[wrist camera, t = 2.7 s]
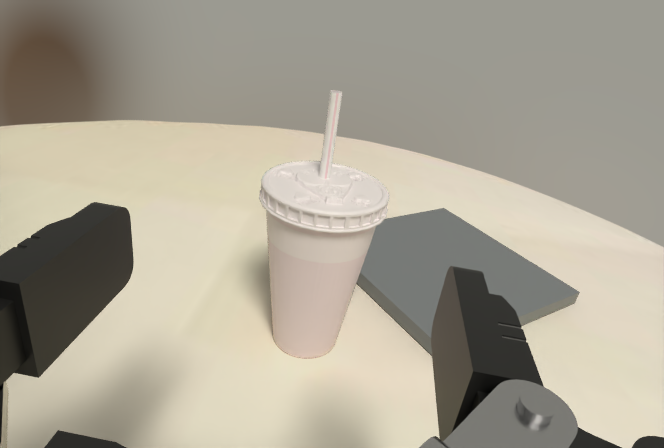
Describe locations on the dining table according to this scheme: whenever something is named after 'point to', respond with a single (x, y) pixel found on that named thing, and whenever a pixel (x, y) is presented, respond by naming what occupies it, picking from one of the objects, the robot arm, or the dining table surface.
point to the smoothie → (317, 242)
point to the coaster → (433, 263)
